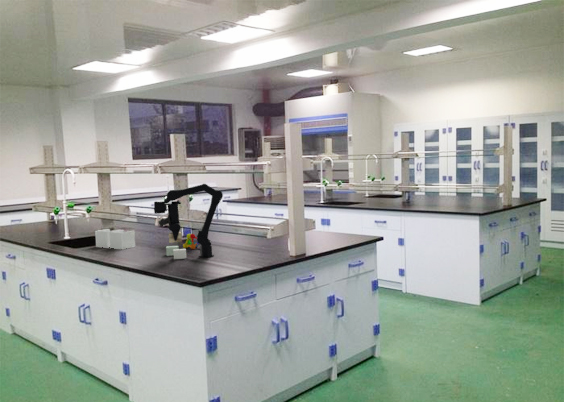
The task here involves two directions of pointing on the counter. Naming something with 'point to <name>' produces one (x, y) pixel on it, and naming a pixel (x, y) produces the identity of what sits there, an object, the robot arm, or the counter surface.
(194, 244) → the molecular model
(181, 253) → the offwhite block
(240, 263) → the counter surface
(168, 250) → the sage block
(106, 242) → the storage container
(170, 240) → the maple block
